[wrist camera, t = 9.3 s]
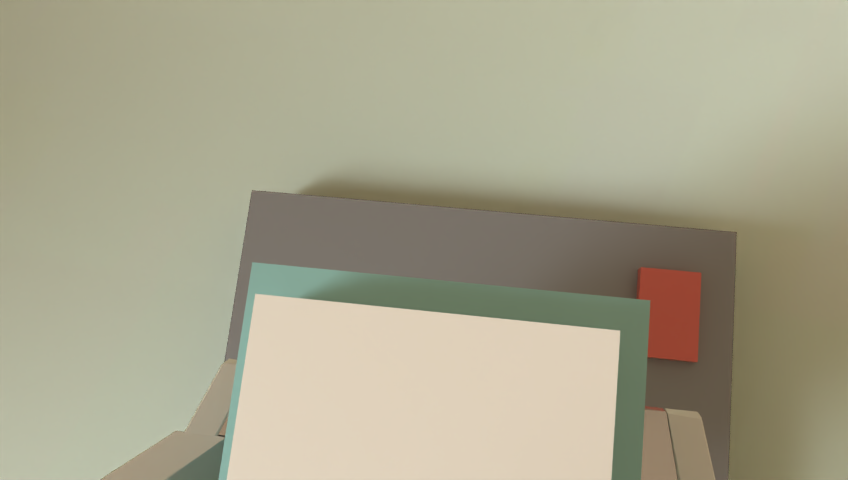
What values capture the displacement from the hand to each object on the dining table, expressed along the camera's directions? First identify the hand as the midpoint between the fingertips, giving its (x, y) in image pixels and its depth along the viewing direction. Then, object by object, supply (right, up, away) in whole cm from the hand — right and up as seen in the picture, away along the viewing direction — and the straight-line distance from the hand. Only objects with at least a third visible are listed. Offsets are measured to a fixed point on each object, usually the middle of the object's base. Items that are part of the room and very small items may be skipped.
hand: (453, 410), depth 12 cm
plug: (0, -2, +5) cm, 5 cm away
